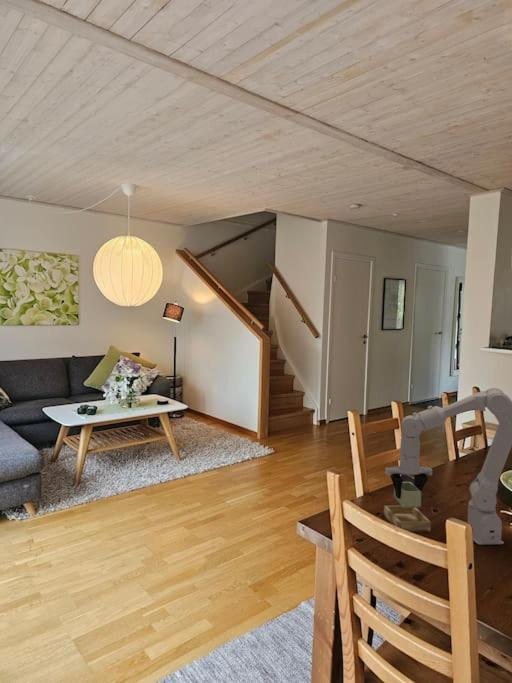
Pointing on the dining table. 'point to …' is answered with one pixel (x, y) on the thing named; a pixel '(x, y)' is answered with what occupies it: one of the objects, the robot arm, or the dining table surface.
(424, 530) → the beige flat rectangular tray
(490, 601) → the dining table surface
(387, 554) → the dining table surface
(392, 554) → the dining table surface
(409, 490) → the small crate
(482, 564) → the dining table surface
